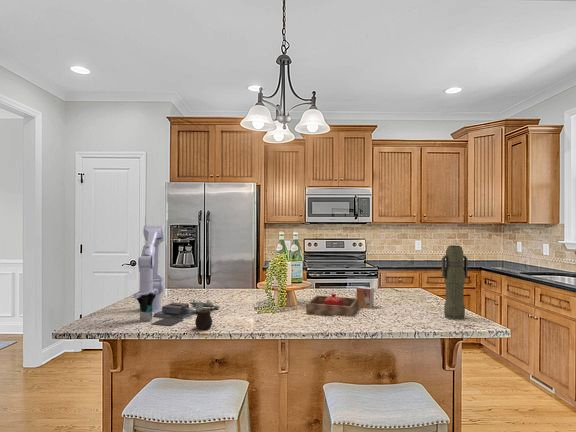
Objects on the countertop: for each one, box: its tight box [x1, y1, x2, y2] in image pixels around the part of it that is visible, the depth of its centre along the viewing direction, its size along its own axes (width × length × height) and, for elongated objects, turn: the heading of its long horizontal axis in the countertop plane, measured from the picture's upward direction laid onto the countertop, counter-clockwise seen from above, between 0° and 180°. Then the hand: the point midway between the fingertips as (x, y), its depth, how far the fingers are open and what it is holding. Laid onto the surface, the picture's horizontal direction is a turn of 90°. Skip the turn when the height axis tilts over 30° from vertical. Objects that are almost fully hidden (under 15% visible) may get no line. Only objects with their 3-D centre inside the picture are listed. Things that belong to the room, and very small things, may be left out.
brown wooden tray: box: [305, 295, 360, 317], centre depth 197 cm, size 23×21×5 cm
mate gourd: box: [194, 306, 213, 331], centre depth 163 cm, size 7×8×10 cm
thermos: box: [441, 244, 469, 321], centre depth 180 cm, size 9×12×35 cm
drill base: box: [153, 310, 197, 320], centre depth 187 cm, size 16×12×2 cm
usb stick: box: [139, 305, 153, 322], centre depth 177 cm, size 6×2×7 cm, turn 71°
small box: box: [355, 286, 375, 309], centre depth 205 cm, size 8×6×10 cm
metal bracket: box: [188, 299, 221, 311], centre depth 195 cm, size 14×6×15 cm
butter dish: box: [324, 293, 344, 306], centre depth 200 cm, size 12×12×8 cm
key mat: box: [150, 318, 184, 327], centre depth 173 cm, size 10×10×1 cm
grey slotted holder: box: [161, 302, 197, 314], centre depth 185 cm, size 16×9×3 cm, turn 71°
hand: (145, 310), depth 177 cm, fingers closed on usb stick, 2 cm apart
